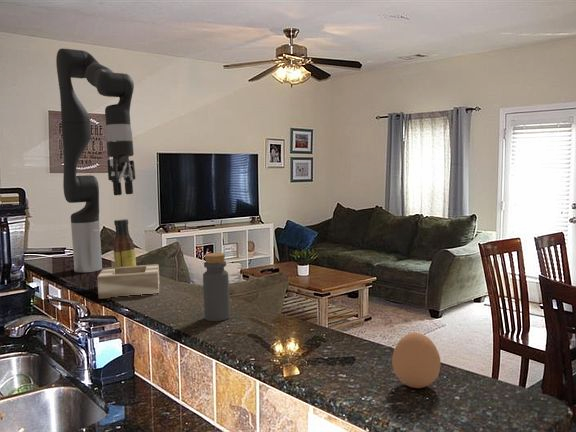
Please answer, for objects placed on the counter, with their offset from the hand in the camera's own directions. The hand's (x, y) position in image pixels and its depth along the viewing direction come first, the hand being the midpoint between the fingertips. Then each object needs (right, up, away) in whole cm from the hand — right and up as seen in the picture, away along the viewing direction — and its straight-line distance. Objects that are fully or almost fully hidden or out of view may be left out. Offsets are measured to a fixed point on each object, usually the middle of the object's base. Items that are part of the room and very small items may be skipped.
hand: (123, 194), depth 162 cm
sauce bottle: (0, -27, +4) cm, 28 cm away
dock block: (+4, -28, -6) cm, 29 cm away
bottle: (+33, -30, -37) cm, 58 cm away
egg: (+70, -33, -78) cm, 110 cm away
